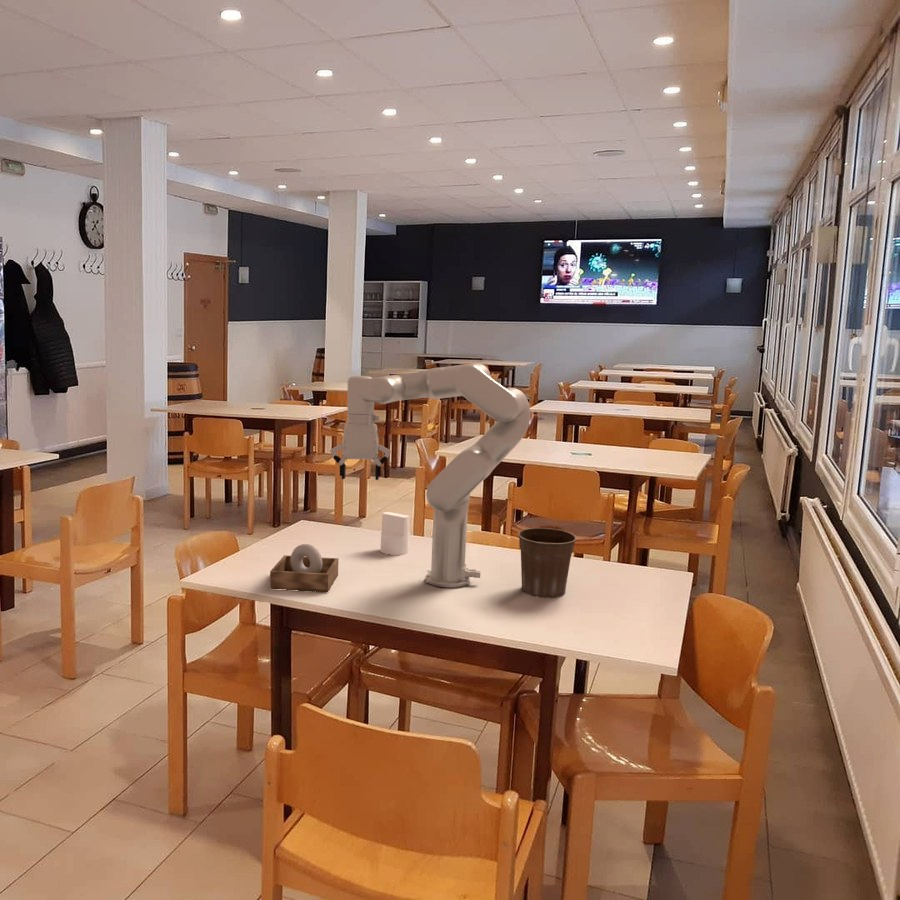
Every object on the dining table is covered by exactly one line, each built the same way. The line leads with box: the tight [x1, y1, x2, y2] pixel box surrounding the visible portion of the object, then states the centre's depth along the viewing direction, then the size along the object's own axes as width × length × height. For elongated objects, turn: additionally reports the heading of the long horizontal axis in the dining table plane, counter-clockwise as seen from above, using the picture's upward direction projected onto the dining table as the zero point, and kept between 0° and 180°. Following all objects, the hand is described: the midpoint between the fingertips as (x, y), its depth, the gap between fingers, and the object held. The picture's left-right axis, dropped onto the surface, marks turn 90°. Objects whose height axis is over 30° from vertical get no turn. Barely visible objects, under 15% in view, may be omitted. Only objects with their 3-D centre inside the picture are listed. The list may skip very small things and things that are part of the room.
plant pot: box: [517, 527, 578, 598], centre depth 230 cm, size 16×16×16 cm
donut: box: [290, 543, 323, 573], centre depth 228 cm, size 10×3×10 cm, turn 64°
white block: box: [380, 511, 411, 556], centre depth 263 cm, size 9×9×12 cm
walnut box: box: [269, 555, 339, 593], centre depth 229 cm, size 16×16×5 cm
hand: (360, 478), depth 238 cm, fingers open, 9 cm apart
